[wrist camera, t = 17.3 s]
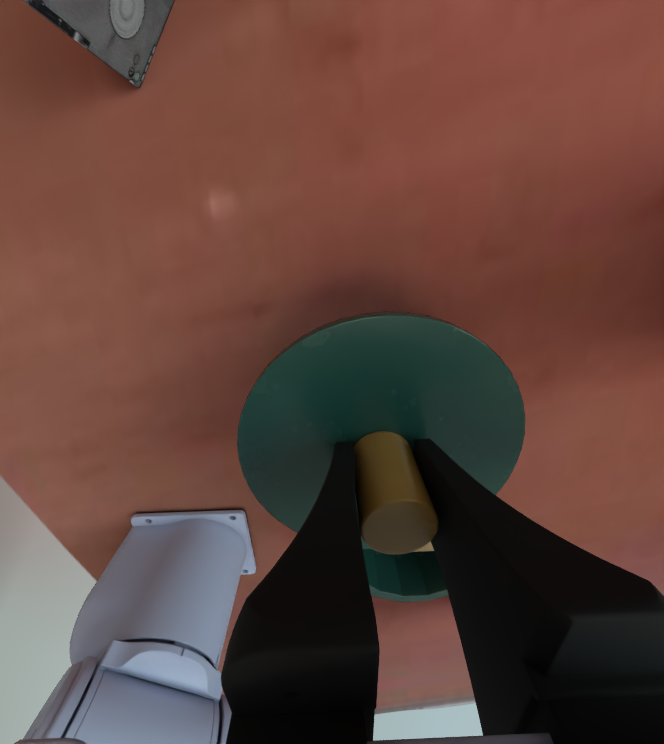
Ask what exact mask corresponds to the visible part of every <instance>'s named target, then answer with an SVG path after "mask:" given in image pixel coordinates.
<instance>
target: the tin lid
mask: <svg viewBox="0 0 664 744" xmlns="http://www.w3.org/2000/svg"><path fill="white" fill-rule="evenodd" d="M524 435H525V412H524V405H523V400H522V397H521V394H520V390H519V387H518V385H517V383H516V381H515V379H514V377H513V375H512V373H511V371H510V370H509V369H508V367H507V366H506V365H505V363H504V362H503V361H502V359H501V358H500V357H499V356H498V355H497V354H496V353H495V352H494V351H493V350H492V349H491V348H490V347H489V346H488V345H486V344H485V343H484V342H482V341H481V340H479V339H478V338H476V337H475V336H473V335H472V334H470V333H469V332H467V331H466V330H464V329H462V328H460V327H458V326H456V325H454V324H451V323H449V322H447V321H444V320H441V319H437V318H434V317H431V316H428V315H421V314H415V313H409V312H386V311H384V312H374V313H365V314H359V315H355V316H351V317H346V318H342V319H339V320H336V321H334V322H331V323H328V324H325V325H323V326H320V327H318V328H316V329H315V330H313V331H311V332H309V333H307V334H305V335H303V336H301V337H300V338H299V339H297V340H296V341H294V342H293V343H292V344H290V345H289V346H287V347H286V348H285V349H284V350H282V351H281V352H280V353H279V354H278V355H277V356H276V357H275V358H274V359H273V360H272V361H271V362H270V363H269V364H268V366H267V367H266V368H265V369H264V371H263V372H262V373H261V374H260V376H259V377H258V379H257V380H256V382H255V384H254V386H253V387H252V389H251V391H250V393H249V395H248V397H247V400H246V402H245V405H244V407H243V410H242V413H241V417H240V422H239V426H238V440H237V446H238V455H239V461H240V465H241V468H242V472H243V475H244V477H245V479H246V481H247V484H248V486H249V488H250V489H251V491H252V492H253V494H254V495H255V497H256V498H257V500H258V501H259V502H260V503H261V504H262V506H263V507H264V508H265V509H266V510H267V511H268V512H269V513H270V514H271V515H273V516H274V517H275V518H276V519H277V520H278V521H280V522H281V523H283V524H284V525H286V526H287V527H289V528H290V529H292V530H294V531H296V532H299V530H300V529H301V527H302V525H303V524H304V522H305V520H306V519H307V517H308V515H309V513H310V511H311V510H312V508H313V506H314V504H315V502H316V500H317V498H318V495H319V493H320V491H321V489H322V486H323V484H324V482H325V479H326V476H327V473H328V471H329V468H330V465H331V461H332V457H333V453H334V444H336V443H337V442H353V445H354V450H355V497H356V507H357V514H358V521H359V527H360V534H361V540H362V547H363V549H374V550H375V551H378V552H381V553H385V554H406V553H410V552H413V551H416V550H418V549H420V548H422V547H424V546H425V545H427V544H428V543H429V542H430V541H431V540H432V539H433V538H434V536H435V535H436V533H437V530H438V525H439V520H438V516H437V513H436V510H435V508H434V505H433V503H432V500H431V498H430V495H429V493H428V490H427V488H426V485H425V483H424V480H423V478H422V475H421V473H420V470H419V468H418V465H417V462H416V460H415V457H414V455H413V447H414V439H429V438H430V439H431V440H432V441H433V442H434V443H435V444H436V445H438V446H439V447H440V448H441V449H442V450H443V451H444V452H445V453H446V454H447V455H448V456H449V457H450V458H451V459H452V460H454V461H455V462H456V463H457V464H458V465H459V466H460V467H461V468H462V469H464V470H465V471H466V472H467V473H468V474H469V475H470V476H472V477H473V478H474V479H475V480H476V481H478V482H479V483H480V484H481V485H483V486H484V487H485V488H486V489H488V490H489V491H490V492H492V493H493V494H494V495H496V494H497V493H498V492H499V491H500V489H501V488H502V487H503V485H504V484H505V482H506V481H507V479H508V478H509V476H510V475H511V473H512V471H513V469H514V467H515V465H516V463H517V460H518V458H519V455H520V452H521V449H522V444H523V439H524Z"/></svg>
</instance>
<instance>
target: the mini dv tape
mask: <svg viewBox="0 0 664 744" xmlns="http://www.w3.org/2000/svg"><path fill="white" fill-rule="evenodd" d="M23 1H24V2H26V3H27V4H28V5H29V6H30V7H32V8H33V9H34V10H36V11H37V12H38V13H40V14H41V15H42V16H44V17H45V18H46V19H48V20H49V21H50V22H51V23H53V24H54V25H55V26H57V27H58V28H59V29H61V30H62V31H63V32H65V33H66V34H67V35H69V36H70V37H71V38H73V39H74V40H75V41H77V42H78V43H79V44H80V45H82V46H83V47H84V48H86V49H87V50H88V51H90V52H91V53H92V54H94V55H95V56H96V57H98V58H99V59H100V60H102V61H103V62H104V63H106V64H107V65H108V66H109V67H111V68H112V69H113V70H115V71H116V72H117V73H119V74H120V75H121V76H123V77H124V78H125V79H127V80H128V81H129V82H131V83H132V84H133V85H135V86H136V87H137V88H140V86H141V84H142V81H143V79H144V76H145V74H146V71H147V69H148V66H149V63H150V61H151V58H152V56H153V53H154V51H155V48H156V46H157V43H158V41H159V38H160V36H161V33H162V30H163V28H164V25H165V23H166V20H167V18H168V15H169V13H170V10H171V8H172V5H173V3H174V0H23Z"/></svg>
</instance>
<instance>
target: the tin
mask: <svg viewBox="0 0 664 744" xmlns="http://www.w3.org/2000/svg"><path fill="white" fill-rule="evenodd" d="M363 553H364V558H365V564H366V570H367V576H368V581H369V587H370V592H371V595H373V596H374V597H379V598H384V599H388V600H393V601H398V602H413V601H429V600H433V599H437V598H440V597H444V596H448V591H447V588H446V584H445V581H444V577H443V574H442V571H441V568H440V565H439V562H438V559H437V557H436V554H435V552H434V551H420V552H410V553H406V554H385V553H381V552H378V551H375V550H374V549H363Z"/></svg>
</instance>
